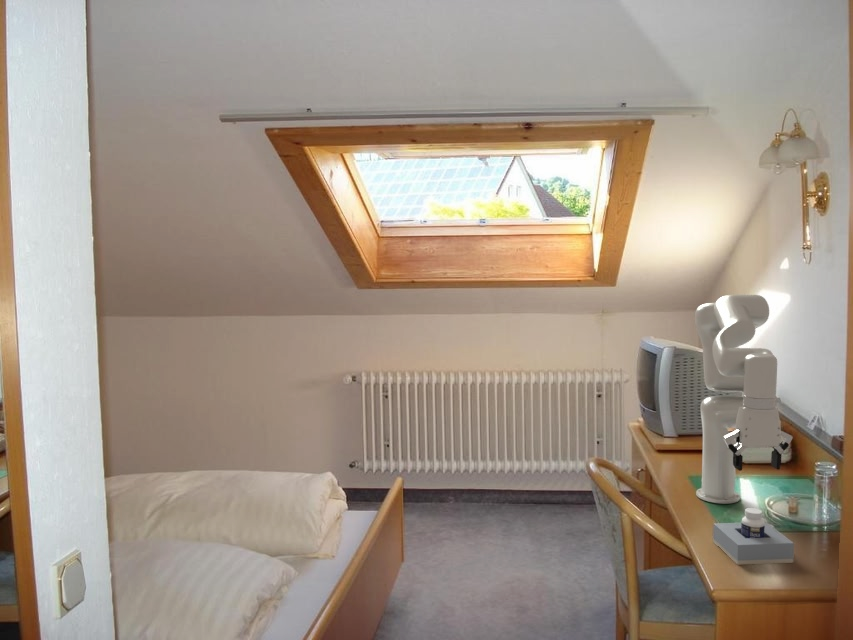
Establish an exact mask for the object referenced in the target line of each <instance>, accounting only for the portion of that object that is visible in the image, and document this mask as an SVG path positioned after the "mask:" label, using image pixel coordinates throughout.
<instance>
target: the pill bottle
mask: <svg viewBox="0 0 853 640" xmlns="http://www.w3.org/2000/svg"><path fill="white" fill-rule="evenodd" d="M762 517H763V511H762V510H761V509H758V508H754V507H748V508H745V509H744V516H743V517H742V518H741V522H740V523H741V535H742V536H744V537H745V538H764V529H765V522H766V521H765V520H764V518H762Z"/></svg>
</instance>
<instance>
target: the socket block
mask: <svg viewBox="0 0 853 640" xmlns="http://www.w3.org/2000/svg"><path fill="white" fill-rule="evenodd" d="M764 522H765V529H764V538H745V537H744V536H742V535H741V523H742V522H722V523H721V522H720V523H719V522H717V523H716V522H715V523H713V526H712V543H714V545H715V546H716V547H718V546H719V547H720V548H721V549H722V550H723V551H724V552H725V553H726V554H727V555H726V554H725V553H724V552H723V551H722V550H721V549H720V548H719V547H718V548H719V549H720V550H721V551H722V552H723V553H724V554H725V555H726V556H727V557H729V559H731V560H732V561H733V562H734V563H735V564H736V565H737V566H738V565H739V566H740V565H741V566H742V565H767V564H771V565H772V564H790V563H791V564H793V563H794V556H795V555H794V554H795V553H794V550H795V549H794V548H795V542H793V541H792V540H790V539H789V538H788V537H787V536H785V535H784V534H783V533H781V532H780V531H778V530H777V529H776V528H775V527H773V526H772V525H770V524H769V523H768V522H767V521H764Z"/></svg>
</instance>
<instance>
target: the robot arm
mask: <svg viewBox="0 0 853 640" xmlns="http://www.w3.org/2000/svg"><path fill="white" fill-rule="evenodd" d="M694 313H695V314H694V322H695V328H696V333H697V334H698V337H699V339H700V340H699V341H700V342H701V345H702V358H703V359H702V360H703V361H702V362H703V363H702V364H703V381H704V384H705V387H706V388H707V390H709V391H713V392H724V393H725V392H729V393H730V392H731V393H732V392H736V393H738V392H740V393H742V396H741V395H733V396H732V395H711V396H707V397H705V398H704V399H702V401H701V402H700V408H699V410H700V418H701V426H702V457H701V459H702V462H701V463H702V464H701V487H700V488H698V489H696V490H695V491H696V492H695V493H696V494H695V495H696V497H697V498H699V499H700V500H701V501H705V502H709V503H714V504H723V505H724V504H725V505H726V504H734V503H737V502H740V500H741V494H740V493H739V492H737V491H736V490H735V489H736V470H737V471H743V461H744V460H743V457H744V456H743V455H742V453H743V452H744V451H745V449H758V448H759V449H760V448H762V449H763V448H764V449H765V448H768V449H769V448H772V449H773V450H772V451H771V457H770V461H771V462H770V466H771V467H773V468H774V469H776V470H780V468H781V465H782V456H783V454H784V452H785V451H786V450H787V449H788V447H789V446H790V444H791V442H792V440H793V438H794V437H793V435H791V434H789V433H788V432H785V431H784V430H782V429H781V419H780V414H779V409H778V408H777V404H780V403H781V401H782V399H781V397H777V381H778V378H777V377H778V358H777V356H775V355H774V354H773V352H772V351H771V350H769V349H767V348H760V347H759V348H756V347H753V348H752V347H751V348H750V347H749V348H748V347H740V346H743V345H746V344H748V342H750V341H751V340H753V338H754V336H755V334H756V329H757V328H759V327H762V326H763V325H764V324H765V323H766V322H767V321H768V319H769V316H770V307H769V304H768V301H767V299H766V298H765V297H764V296H762V295H759V294H726V295H723V296H721V297H719V298H718V299H717V300H716V302H708V303H703V304H701V305H699V306H698V307H697V308H696V310H695V312H694ZM732 428H733V429H734V431H732V432H729V431H728V429H732ZM781 437H783V440H782V441H781Z"/></svg>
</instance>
